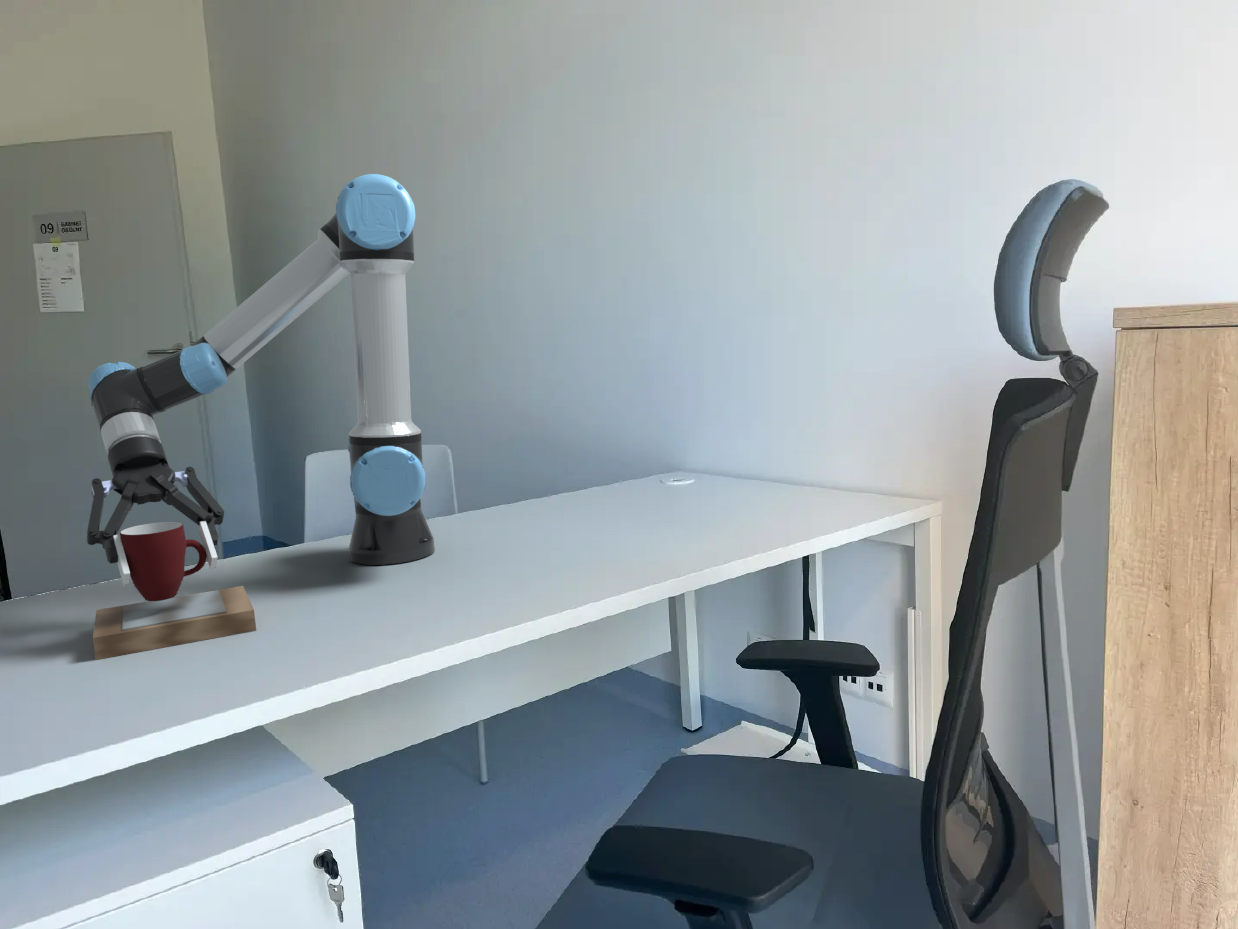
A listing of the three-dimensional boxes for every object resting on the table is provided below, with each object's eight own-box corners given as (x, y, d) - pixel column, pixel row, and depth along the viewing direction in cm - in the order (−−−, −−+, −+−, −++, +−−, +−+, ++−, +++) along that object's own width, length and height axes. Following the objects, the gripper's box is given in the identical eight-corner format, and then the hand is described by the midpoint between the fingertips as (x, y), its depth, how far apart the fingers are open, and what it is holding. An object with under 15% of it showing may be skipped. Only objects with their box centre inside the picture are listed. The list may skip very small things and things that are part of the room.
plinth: (245, 604, 149) (242, 584, 149) (256, 630, 136) (253, 608, 135) (99, 629, 140) (96, 608, 140) (95, 659, 127) (92, 636, 127)
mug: (198, 582, 143) (190, 516, 142) (218, 592, 137) (209, 523, 136) (121, 598, 136) (112, 529, 135) (139, 609, 130) (129, 537, 129)
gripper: (213, 456, 153) (253, 569, 143) (46, 476, 140) (77, 603, 130) (218, 425, 148) (259, 540, 138) (45, 443, 135) (77, 572, 125)
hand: (171, 571), depth 134 cm, fingers closed on mug, 11 cm apart
